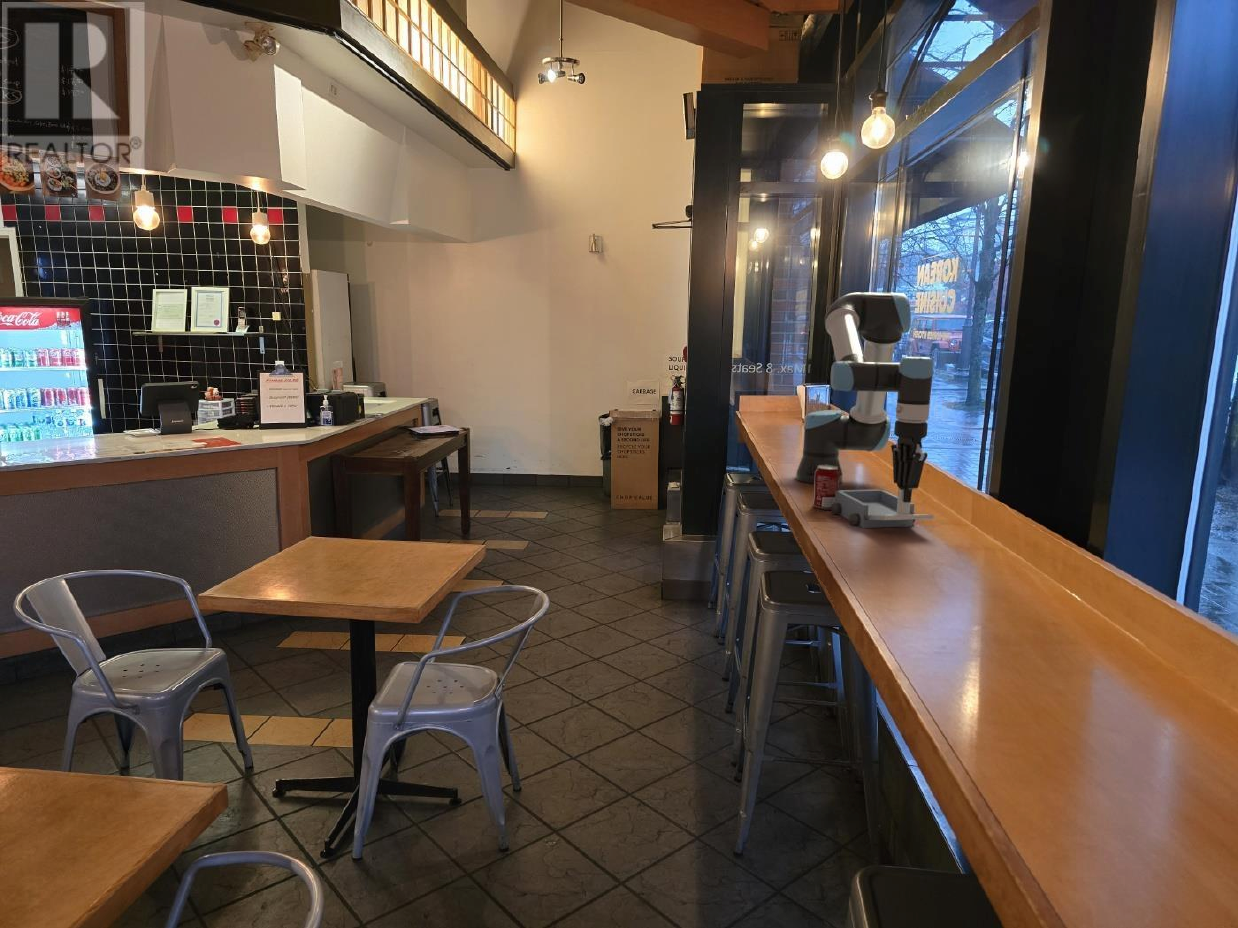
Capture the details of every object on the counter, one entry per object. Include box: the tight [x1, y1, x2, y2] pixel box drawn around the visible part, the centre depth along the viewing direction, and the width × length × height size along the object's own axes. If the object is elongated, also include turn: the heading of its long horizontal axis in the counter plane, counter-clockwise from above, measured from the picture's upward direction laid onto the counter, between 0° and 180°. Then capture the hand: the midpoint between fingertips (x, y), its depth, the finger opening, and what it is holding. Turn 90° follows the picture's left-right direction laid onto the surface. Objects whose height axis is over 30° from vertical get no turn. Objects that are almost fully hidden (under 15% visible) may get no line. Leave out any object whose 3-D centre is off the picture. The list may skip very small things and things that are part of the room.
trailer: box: [830, 488, 916, 529], centre depth 201 cm, size 17×17×6 cm
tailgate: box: [865, 513, 935, 520], centre depth 188 cm, size 1×14×10 cm
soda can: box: [812, 465, 840, 511], centre depth 211 cm, size 7×7×12 cm
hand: (902, 513), depth 186 cm, fingers closed
